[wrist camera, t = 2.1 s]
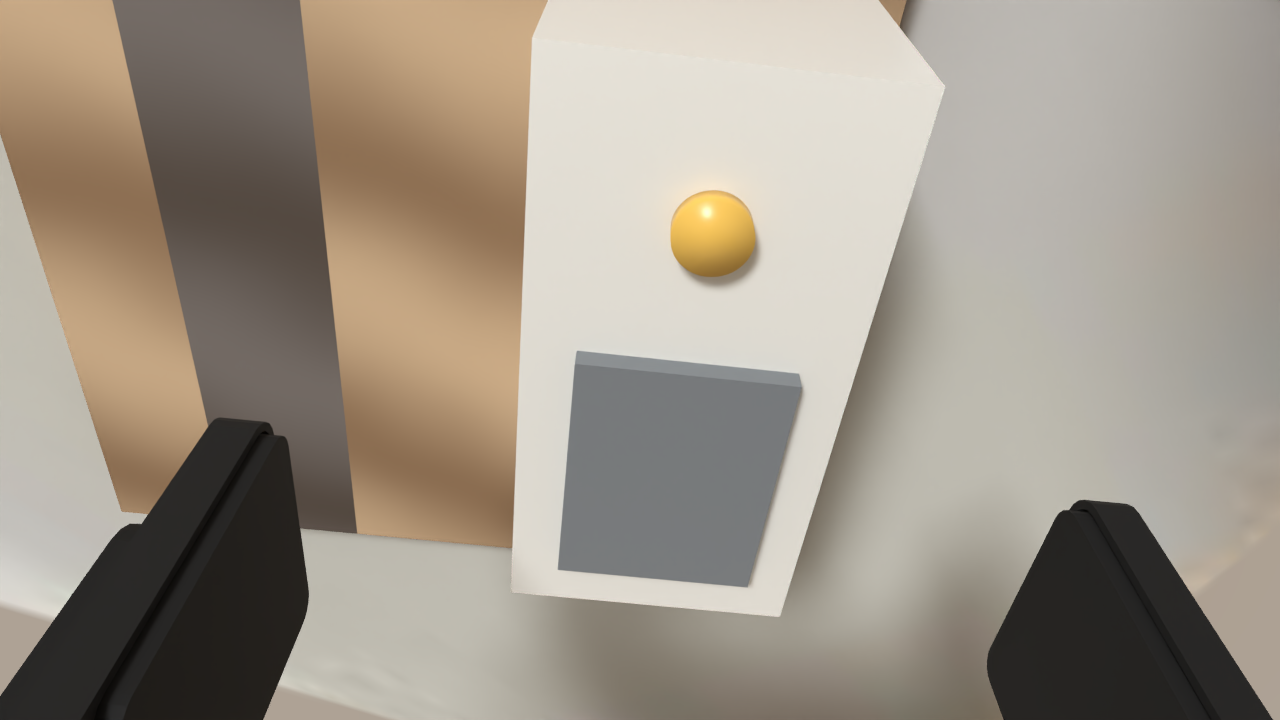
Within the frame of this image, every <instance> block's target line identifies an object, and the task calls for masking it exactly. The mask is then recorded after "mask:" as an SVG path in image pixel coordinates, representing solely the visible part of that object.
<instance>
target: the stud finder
mask: <svg viewBox="0 0 1280 720" xmlns="http://www.w3.org/2000/svg"><path fill="white" fill-rule="evenodd" d="M944 90H945V86H944V84H943V83H942V82H941V81H940V79H939V78H938V77H937V75H936V74H935V73H934V71H933V70H932V69H931V68H930V66H929V65H928V64H927V62H926V61H925V60H924V58H923V57H922V56H921V55H920V53H919V52H918V51H917V49H916V48H915V47H914V46H913V44H912V43H911V42H910V40H909V39H908V38H907V36H906V35H905V34H904V33H903V31H902V30H901V29H900V27H899V26H898V25H897V23H896V22H895V21H894V20H893V18H892V17H891V16H890V14H889V13H888V12H887V10H886V9H885V8H884V7H883V5H882V4H881V3H880V1H879V0H548V2H547V4H546V6H545V9H544V11H543V13H542V16H541V18H540V20H539V23H538V25H537V27H536V30H535V32H534V34H533V37H532V51H531V77H530V103H529V129H528V155H527V181H526V207H525V233H524V260H523V286H522V312H521V338H520V364H519V390H518V416H517V442H516V468H515V494H514V521H513V547H512V573H511V592H513V593H523V594H534V595H545V596H556V597H567V598H578V599H589V600H600V601H611V602H622V603H633V604H644V605H655V606H666V607H677V608H688V609H698V610H709V611H720V612H731V613H742V614H753V615H764V616H775V617H780V614H781V611H782V608H783V605H784V602H785V598H786V595H787V592H788V589H789V586H790V582H791V579H792V576H793V573H794V570H795V566H796V563H797V560H798V557H799V554H800V550H801V547H802V544H803V541H804V538H805V534H806V531H807V528H808V525H809V522H810V518H811V515H812V512H813V509H814V506H815V502H816V499H817V496H818V493H819V490H820V486H821V483H822V480H823V477H824V474H825V470H826V467H827V464H828V461H829V458H830V454H831V451H832V448H833V445H834V442H835V438H836V435H837V432H838V429H839V426H840V422H841V419H842V416H843V413H844V410H845V406H846V403H847V400H848V397H849V394H850V390H851V387H852V384H853V381H854V378H855V374H856V371H857V368H858V365H859V362H860V358H861V355H862V352H863V349H864V346H865V343H866V339H867V336H868V333H869V330H870V327H871V323H872V320H873V317H874V314H875V311H876V307H877V304H878V301H879V298H880V295H881V291H882V288H883V285H884V282H885V279H886V275H887V272H888V269H889V266H890V263H891V259H892V256H893V253H894V250H895V247H896V243H897V240H898V237H899V234H900V231H901V227H902V224H903V221H904V218H905V215H906V211H907V208H908V205H909V202H910V199H911V195H912V192H913V189H914V186H915V183H916V179H917V176H918V173H919V170H920V167H921V163H922V160H923V157H924V154H925V151H926V147H927V144H928V141H929V138H930V135H931V131H932V128H933V125H934V122H935V119H936V115H937V112H938V109H939V106H940V103H941V99H942V96H943V93H944Z"/></svg>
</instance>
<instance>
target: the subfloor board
mask: <svg viewBox="0 0 1280 720" xmlns="http://www.w3.org/2000/svg"><path fill="white" fill-rule="evenodd" d="M879 1H880V3H881V4H882V5H883V7H884V8H885V9H886V10H887V12H888V13H889V14H890V16H891V17H892V18H893V20H894V21H895V22H896V23H897V25H898V26H900V22H901V19H902V15H903V11H904V8H905V4H906V0H879ZM547 2H548V0H0V134H1V138H2V141H3V144H4V147H5V150H6V153H7V156H8V159H9V162H10V166H11V169H12V172H13V175H14V178H15V181H16V184H17V187H18V190H19V194H20V197H21V200H22V203H23V206H24V209H25V212H26V215H27V218H28V221H29V225H30V228H31V231H32V234H33V237H34V240H35V243H36V246H37V249H38V253H39V256H40V259H41V262H42V265H43V268H44V271H45V274H46V277H47V281H48V284H49V287H50V290H51V293H52V296H53V299H54V302H55V305H56V309H57V312H58V315H59V318H60V321H61V324H62V327H63V330H64V333H65V337H66V340H67V343H68V346H69V349H70V352H71V355H72V358H73V361H74V365H75V368H76V371H77V374H78V377H79V380H80V383H81V386H82V389H83V393H84V396H85V399H86V402H87V405H88V408H89V411H90V414H91V417H92V420H93V424H94V427H95V430H96V433H97V436H98V439H99V442H100V445H101V448H102V452H103V455H104V458H105V461H106V464H107V467H108V470H109V473H110V476H111V480H112V483H113V486H114V489H115V492H116V495H117V498H118V501H119V504H120V508H121V511H122V512H133V513H143V514H149V513H150V511H151V510H152V508H153V507H154V505H155V504H156V502H157V501H158V499H159V498H160V496H161V495H162V493H163V492H164V491H165V489H166V488H167V486H168V485H169V483H170V482H171V480H172V479H173V477H174V476H175V474H176V473H177V471H178V470H179V469H180V467H181V466H182V464H183V463H184V461H185V460H186V458H187V457H188V455H189V454H190V452H191V451H192V450H193V448H194V447H195V445H196V444H197V442H198V441H199V439H200V438H201V436H202V435H203V433H204V432H205V430H206V429H207V428H208V426H209V425H210V424H211V423H212V421H213V420H214V419H217V418H219V417H221V418H231V419H242V420H252V421H263V422H268V423H270V425H271V427H272V428H273V432H274V435H279V436H284V437H286V439H287V441H288V445H289V452H290V460H291V467H292V474H293V481H294V488H295V496H296V503H297V510H298V517H299V525H300V528H304V529H314V530H325V531H336V532H346V533H357V534H368V535H378V536H389V537H400V538H410V539H421V540H432V541H442V542H453V543H464V544H474V545H485V546H496V547H506V548H512V547H513V521H514V494H515V468H516V442H517V416H518V390H519V364H520V338H521V312H522V286H523V260H524V233H525V207H526V181H527V155H528V129H529V103H530V77H531V51H532V37H533V34H534V32H535V30H536V27H537V25H538V23H539V20H540V18H541V16H542V13H543V11H544V9H545V6H546V4H547Z"/></svg>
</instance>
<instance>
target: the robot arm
mask: <svg viewBox="0 0 1280 720" xmlns="http://www.w3.org/2000/svg"><path fill="white" fill-rule="evenodd" d="M308 598H309V590H308V582H307V575H306V568H305V561H304V553H303V546H302V539H301V532H300V525H299V517H298V510H297V503H296V496H295V488H294V481H293V474H292V467H291V460H290V452H289V445H288V441H287V439H286V437H284V436H279V435H274V432H273V428H272V427H271V425H270V423H268V422H263V421H252V420H242V419H231V418H221V417H219V418H217V419H214V420H213V421H212V423H211V424H210V425H209V426H208V428H207V429H206V430H205V432H204V433H203V435H202V436H201V438H200V439H199V441H198V442H197V444H196V445H195V447H194V448H193V450H192V451H191V452H190V454H189V455H188V457H187V458H186V460H185V461H184V463H183V464H182V466H181V467H180V469H179V470H178V471H177V473H176V474H175V476H174V477H173V479H172V480H171V482H170V483H169V485H168V486H167V488H166V489H165V491H164V492H163V493H162V495H161V496H160V498H159V499H158V501H157V502H156V504H155V505H154V507H153V508H152V510H151V511H150V513H149V514H148V515H147V517H146V518H145V520H144V521H143V523H142V524H129V525H127V526H125V527H124V528H122V529H120V530H119V532H118V533H117V534H116V535H115V536H114V537H113V538H112V539H111V541H110V542H109V543H108V545H107V546H106V548H105V549H104V550H103V552H102V553H101V555H100V556H99V557H98V559H97V560H96V562H95V563H94V565H93V566H92V567H91V569H90V570H89V572H88V573H87V574H86V576H85V577H84V579H83V580H82V581H81V583H80V584H79V586H78V587H77V589H76V590H75V591H74V593H73V594H72V596H71V597H70V598H69V600H68V601H67V603H66V604H65V605H64V607H63V608H62V610H61V611H60V613H59V614H58V615H57V617H56V618H55V620H54V621H53V622H52V624H51V625H50V627H49V628H48V630H47V631H46V632H45V634H44V635H43V637H42V638H41V639H40V641H39V642H38V644H37V645H36V646H35V648H34V649H33V651H32V652H31V654H30V655H29V656H28V658H27V659H26V661H25V662H24V663H23V665H22V666H21V668H20V669H19V670H18V672H17V673H16V675H15V676H14V678H13V679H12V680H11V682H10V683H9V685H8V686H7V688H6V689H5V690H4V692H3V693H2V694H1V696H0V720H263V718H264V716H265V714H266V711H267V709H268V707H269V704H270V702H271V699H272V697H273V694H274V692H275V690H276V687H277V685H278V682H279V680H280V678H281V675H282V673H283V670H284V668H285V666H286V663H287V661H288V658H289V656H290V653H291V651H292V649H293V646H294V644H295V641H296V639H297V637H298V634H299V632H300V629H301V627H302V624H303V622H304V619H305V616H306V612H307V607H308ZM987 670H988V677H989V680H990V683H991V686H992V689H993V692H994V694H995V697H996V700H997V703H998V705H999V708H1000V711H1001V714H1002V716H1003V719H1004V720H1273V719H1272V718H1271V716H1270V715H1269V713H1268V711H1267V710H1266V708H1265V707H1264V705H1263V704H1262V702H1261V701H1260V699H1259V698H1258V696H1257V695H1256V693H1255V691H1254V690H1253V689H1252V687H1251V685H1250V684H1249V682H1248V681H1247V679H1246V678H1245V676H1244V675H1243V673H1242V671H1241V670H1240V668H1239V667H1238V665H1237V664H1236V662H1235V661H1234V659H1233V658H1232V656H1231V655H1230V653H1229V651H1228V650H1227V648H1226V647H1225V645H1224V644H1223V642H1222V641H1221V639H1220V638H1219V636H1218V634H1217V633H1216V631H1215V630H1214V628H1213V627H1212V625H1211V624H1210V622H1209V621H1208V619H1207V617H1206V616H1205V614H1204V613H1203V611H1202V610H1201V608H1200V607H1199V605H1198V604H1197V602H1196V601H1195V599H1194V597H1193V596H1192V594H1191V593H1190V591H1189V590H1188V588H1187V587H1186V585H1185V584H1184V582H1183V580H1182V579H1181V577H1180V576H1179V574H1178V573H1177V571H1176V570H1175V568H1174V567H1173V565H1172V564H1171V562H1170V560H1169V559H1168V557H1167V556H1166V554H1165V553H1164V551H1163V550H1162V548H1161V547H1160V545H1159V543H1158V542H1157V540H1156V539H1155V537H1154V536H1153V534H1152V533H1151V531H1150V530H1149V528H1148V527H1147V525H1146V523H1145V522H1144V520H1143V519H1142V517H1141V516H1140V514H1139V513H1138V512H1137V511H1136V509H1135V508H1134V507H1132V506H1130V505H1128V504H1121V503H1111V502H1100V501H1090V500H1079V501H1077V502H1076V503H1074V504H1073V506H1072V507H1071V508H1070V510H1063V511H1062V512H1060V513H1059V514H1058V515H1057V517H1056V518H1055V520H1054V522H1053V524H1052V526H1051V528H1050V530H1049V532H1048V534H1047V536H1046V538H1045V540H1044V542H1043V544H1042V546H1041V548H1040V550H1039V552H1038V554H1037V556H1036V558H1035V560H1034V562H1033V564H1032V566H1031V568H1030V570H1029V572H1028V574H1027V576H1026V578H1025V580H1024V582H1023V584H1022V586H1021V588H1020V590H1019V592H1018V594H1017V596H1016V598H1015V600H1014V602H1013V604H1012V606H1011V608H1010V610H1009V612H1008V614H1007V616H1006V618H1005V620H1004V622H1003V624H1002V626H1001V628H1000V630H999V632H998V634H997V636H996V638H995V640H994V642H993V644H992V646H991V648H990V650H989V653H988V659H987Z"/></svg>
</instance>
